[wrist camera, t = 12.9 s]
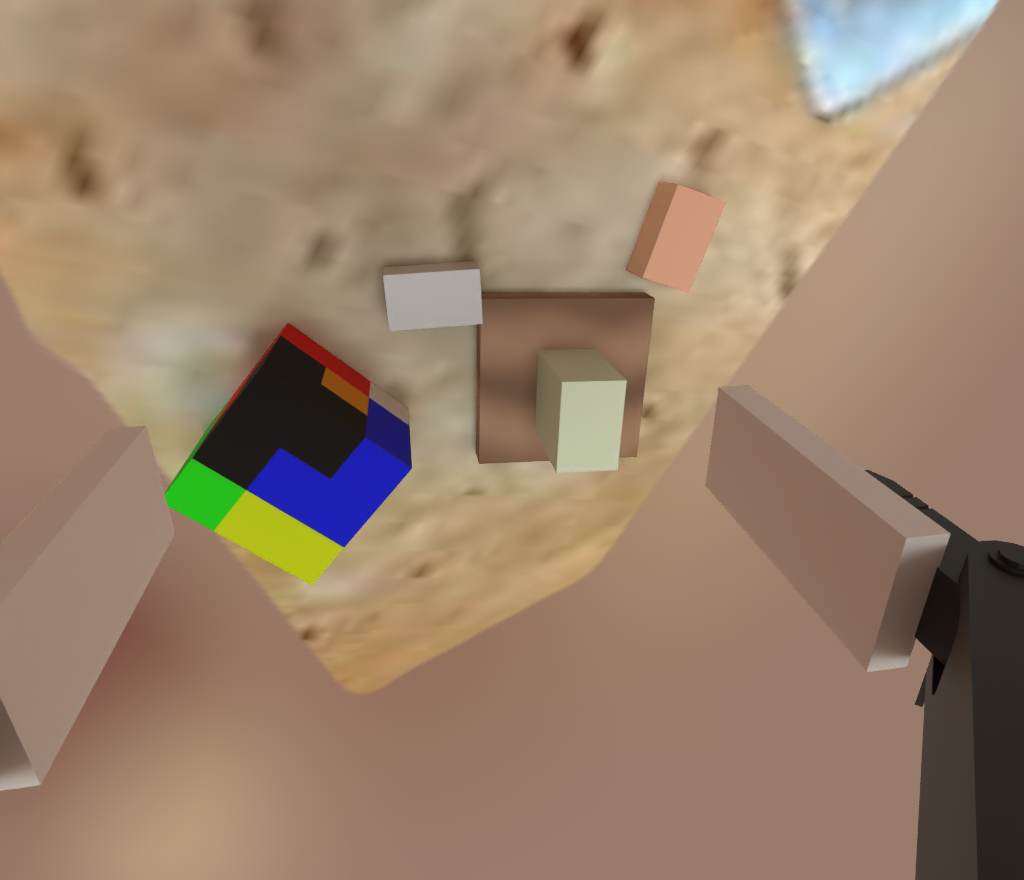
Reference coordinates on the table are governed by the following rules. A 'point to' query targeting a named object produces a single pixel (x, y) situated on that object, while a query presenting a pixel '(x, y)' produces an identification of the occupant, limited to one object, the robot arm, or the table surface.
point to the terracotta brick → (675, 236)
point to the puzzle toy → (296, 458)
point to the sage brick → (579, 409)
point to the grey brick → (433, 295)
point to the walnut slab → (550, 326)
